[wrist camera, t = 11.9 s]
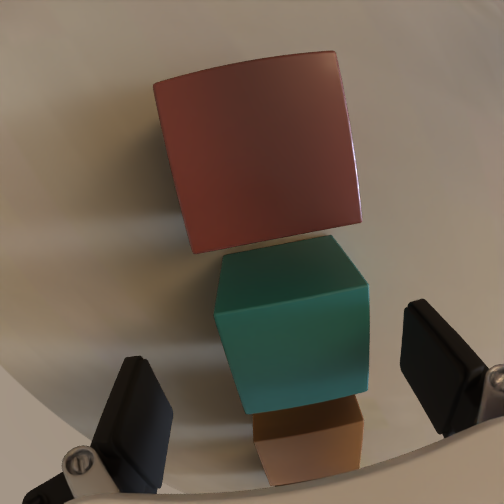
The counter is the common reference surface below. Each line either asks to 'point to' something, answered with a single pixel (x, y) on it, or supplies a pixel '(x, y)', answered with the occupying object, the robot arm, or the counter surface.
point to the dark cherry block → (260, 149)
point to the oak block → (309, 440)
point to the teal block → (294, 324)
